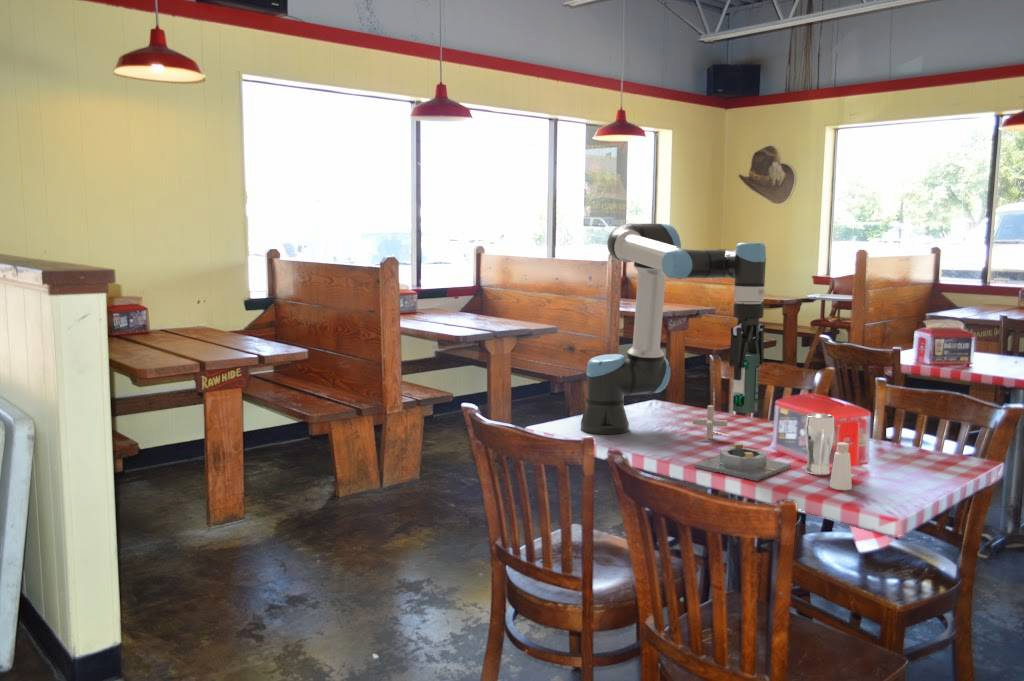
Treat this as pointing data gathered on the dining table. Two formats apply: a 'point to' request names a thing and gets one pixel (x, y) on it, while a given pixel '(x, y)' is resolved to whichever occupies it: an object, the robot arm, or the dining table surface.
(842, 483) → the pepper shaker
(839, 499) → the dining table surface
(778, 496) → the dining table surface
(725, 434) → the butter knife
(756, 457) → the collar
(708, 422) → the pipe connector
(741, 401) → the can
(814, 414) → the beer glass
